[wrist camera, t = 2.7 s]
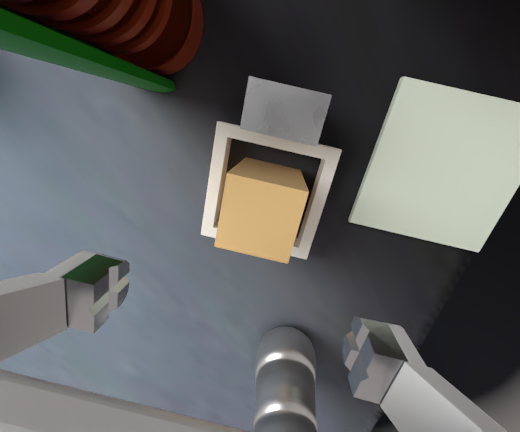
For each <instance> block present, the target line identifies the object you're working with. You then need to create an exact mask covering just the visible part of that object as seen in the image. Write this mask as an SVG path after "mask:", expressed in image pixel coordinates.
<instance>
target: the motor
mask: <svg viewBox="0 0 520 432" xmlns="http://www.w3.org/2000/svg"><path fill="white" fill-rule="evenodd" d="M203 26H204V19H203V10H202V5H201V1H200V0H0V49H2V50H6V51H9V52H13V53H17V54H20V55H24V56H27V57H31V58H35V59H38V60H42V61H45V62H49V63H53V64H56V65H60V66H63V67H67V68H71V69H74V70H78V71H81V72H85V73H89V74H92V75H96V76H99V77H103V78H107V79H110V80H114V81H117V82H121V83H124V84H128V85H132V86H135V87H139V88H142V89H146V90H150V91H155V92H171V91H176V90H175V85H174V82H173V81H171V80H169V79H166V78H164V77H162V76H159V75H169V74H173V73H175V72H178V71H179V70H181V69H183V68H184V67H185V66H186V65H187V64H188V63H189V62H190V61H191V60H192V59H193V57H194V56H195V54H196V52H197V50H198V48H199V46H200V43H201V39H202V35H203Z"/></svg>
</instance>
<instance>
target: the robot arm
mask: <svg viewBox="0 0 520 432" xmlns="http://www.w3.org/2000/svg"><path fill="white" fill-rule="evenodd" d="M128 272H129V262H128V261H126V260H123V259H119V258H115V257H111V256H108V255H104V254H99V253H96V252H92V251H88V250H85V251H81V252H79V253H77V254H76V255H74V256H72V257H70V258H69V259H67V260H65V261H64V262H62V263H60V264H58V265H57V266H55V267H53V268H52V269H50V270H48V271H47V272H45V273H34V274H29V275H24V276H20V277H15V278H11V279H6V280H2V281H0V362H1V361H3V360H5V359H7V358H9V357H11V356H13V355H15V354H17V353H19V352H21V351H23V350H25V349H27V348H29V347H31V346H33V345H35V344H37V343H39V342H41V341H43V340H45V339H48V338H50V337H52V336H54V335H56V334H58V333H60V332H62V331H64V330H66V329H67V327H68V328H72V329H77V330H82V331H86V332H91V333H95V332H96V331H97V330H98V328H99V327H100V326H101V325H102V324H103V323H104V322H105V321H106V320H107V319H108V313H109V312H110V311H113V310H115V309H117V308H118V307H119V306H120V305H121V304H122V303H123V301H124V299H125V297H126V295H127V292H128V288H129V282H128V280H127V278H126V277H125V275H126V274H127V273H128ZM351 328H352V332H350V333H349V334H347V335H346V337H345V340H344V342H343V350H342V352H343V360H344V364H345V365H346V366H347V368H348V369H349V370H350V373H349V375H348V379H349V383H350V387H351V390H352V394H353V397H355V398H359V399H363V400H366V401H370V402H373V403H377V404H381V405H380V406H381V408H382V409H383V411H384V412H385V413H386V414H387V416H388V417H389V419H390V420H391V421H392V423H393V424H394V425H395V427H396V428H397V430H398V431H399V432H508V431H506V430H505V429H504V428H503V427H501V426H500V425H499V424H498V423H496V421H494V420H493V419H492V418H491V417H490V416H488V415H487V414H486V413H485V412H484V411H482V410H481V409H480V408H479V407H478V406H476V405H475V404H474V403H473V402H472V401H470V400H469V399H468V398H467V397H466V396H464V395H463V394H462V393H461V392H460V391H459V390H457V389H456V388H455V387H454V386H452V385H451V384H450V383H449V382H448V381H446V380H445V379H444V378H443V377H442V376H441V375H439V374H438V373H437V372H436V371H435V370H433V369H432V368H429V367H427V366H426V365H425V363H424V362H423V360H422V358H421V357H420V355H419V353H418V352H417V350H416V348H415V347H414V345H413V343H412V342H411V340H410V339H409V337H408V335H407V334H406V332H405V330H404V329H403V328H402V327H401V326H399V325H395V324H390V323H383V322H379V321H374V320H370V319H366V318H362V317H357V316H356V317H355V318H354V319H353V321H352V323H351ZM0 432H249V431H245V430H241V429H237V428H233V427H229V426H225V425H221V424H217V423H213V422H209V421H205V420H201V419H197V418H193V417H189V416H185V415H181V414H177V413H173V412H169V411H165V410H161V409H157V408H153V407H149V406H145V405H141V404H137V403H133V402H129V401H125V400H121V399H117V398H113V397H109V396H105V395H101V394H97V393H93V392H89V391H85V390H81V389H77V388H73V387H69V386H65V385H61V384H57V383H53V382H49V381H45V380H41V379H37V378H33V377H29V376H25V375H21V374H17V373H13V372H9V371H5V370H1V369H0Z"/></svg>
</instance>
